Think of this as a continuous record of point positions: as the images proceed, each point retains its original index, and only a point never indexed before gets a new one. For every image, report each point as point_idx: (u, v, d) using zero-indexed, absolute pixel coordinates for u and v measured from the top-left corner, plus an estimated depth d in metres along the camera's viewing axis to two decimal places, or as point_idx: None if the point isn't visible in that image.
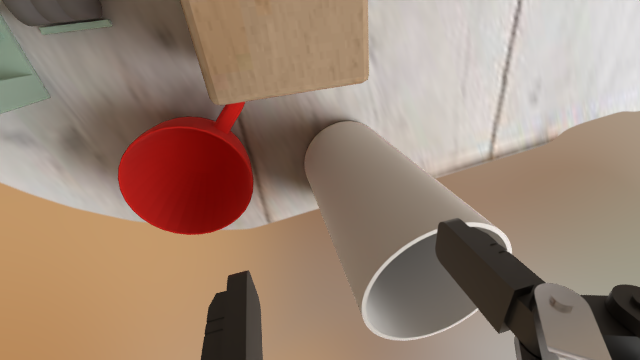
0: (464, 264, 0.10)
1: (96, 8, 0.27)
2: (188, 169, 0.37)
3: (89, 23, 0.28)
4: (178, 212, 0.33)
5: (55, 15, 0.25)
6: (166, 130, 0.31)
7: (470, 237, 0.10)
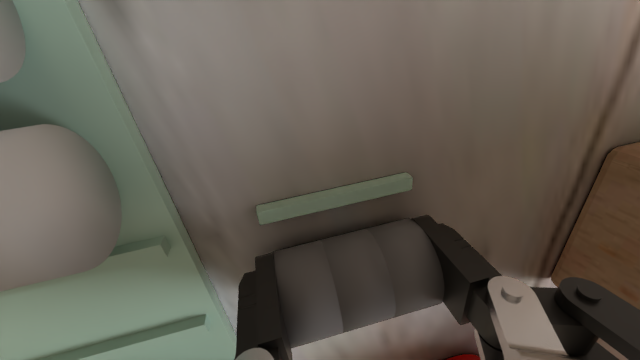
0: None
1: None
2: None
3: None
4: None
5: None
6: None
7: (436, 233, 0.10)
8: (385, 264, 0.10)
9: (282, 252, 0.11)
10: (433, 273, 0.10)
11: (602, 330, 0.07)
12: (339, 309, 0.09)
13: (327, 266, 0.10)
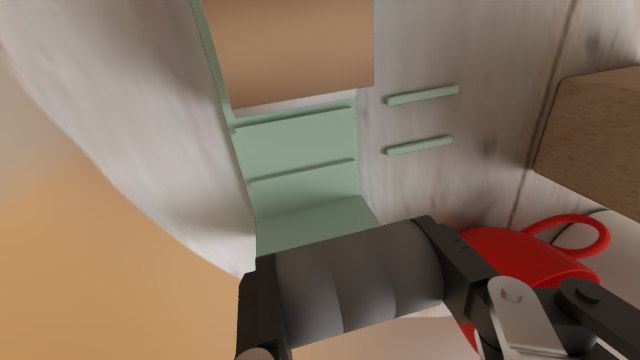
0: None
1: None
2: None
3: (434, 142, 0.25)
4: None
5: None
6: None
7: (436, 233, 0.10)
8: (385, 265, 0.10)
9: (282, 253, 0.11)
10: (433, 274, 0.10)
11: (602, 330, 0.07)
12: (339, 310, 0.09)
13: (327, 267, 0.10)
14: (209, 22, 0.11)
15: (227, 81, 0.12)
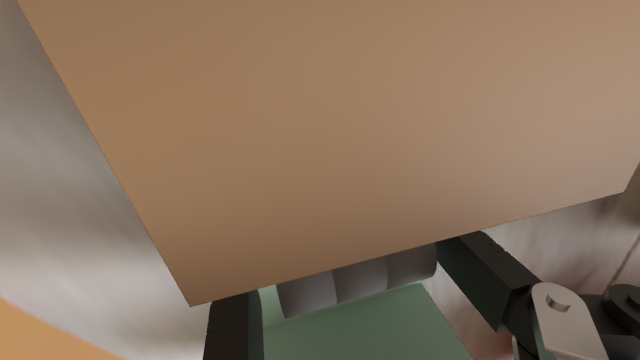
0: (462, 264, 0.10)
1: None
2: None
3: None
4: None
5: None
6: None
7: (468, 237, 0.10)
8: None
9: None
10: None
11: None
12: None
13: None
14: None
15: (162, 231, 0.03)
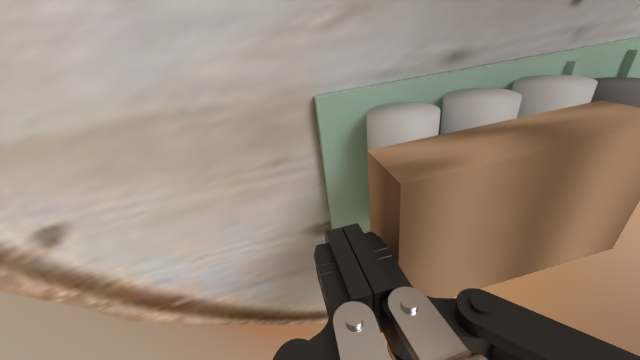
0: None
1: (633, 80, 0.16)
2: None
3: None
4: None
5: None
6: None
7: (358, 242, 0.10)
8: None
9: None
10: (609, 98, 0.16)
11: (504, 343, 0.07)
12: None
13: None
14: (554, 265, 0.14)
15: (592, 252, 0.14)
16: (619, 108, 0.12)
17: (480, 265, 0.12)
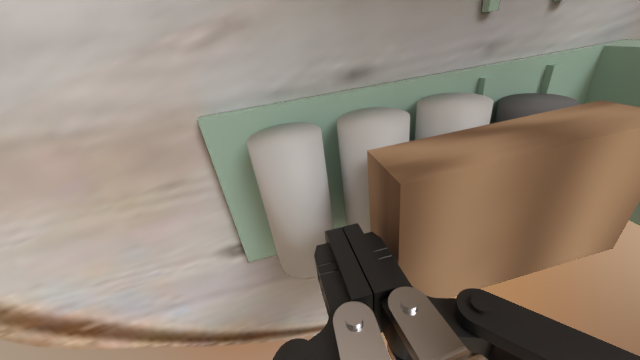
0: None
1: (547, 97, 0.16)
2: None
3: None
4: None
5: None
6: None
7: (358, 242, 0.10)
8: None
9: None
10: None
11: (504, 343, 0.07)
12: None
13: None
14: (554, 265, 0.14)
15: (593, 252, 0.14)
16: (619, 108, 0.12)
17: (480, 265, 0.12)
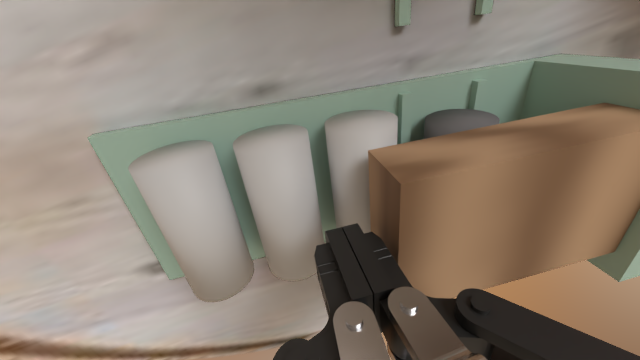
0: None
1: (471, 113, 0.15)
2: None
3: None
4: None
5: None
6: None
7: (358, 242, 0.10)
8: None
9: None
10: None
11: (504, 343, 0.07)
12: None
13: None
14: (555, 267, 0.13)
15: (594, 255, 0.14)
16: (622, 110, 0.12)
17: (480, 267, 0.12)
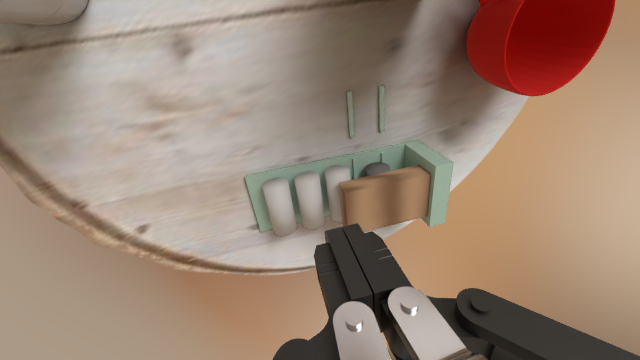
0: None
1: (380, 164, 0.41)
2: None
3: (381, 99, 0.37)
4: (557, 60, 0.34)
5: None
6: None
7: (358, 242, 0.10)
8: None
9: None
10: None
11: (504, 343, 0.07)
12: None
13: None
14: (404, 221, 0.39)
15: (419, 217, 0.39)
16: (419, 169, 0.38)
17: (375, 219, 0.38)
